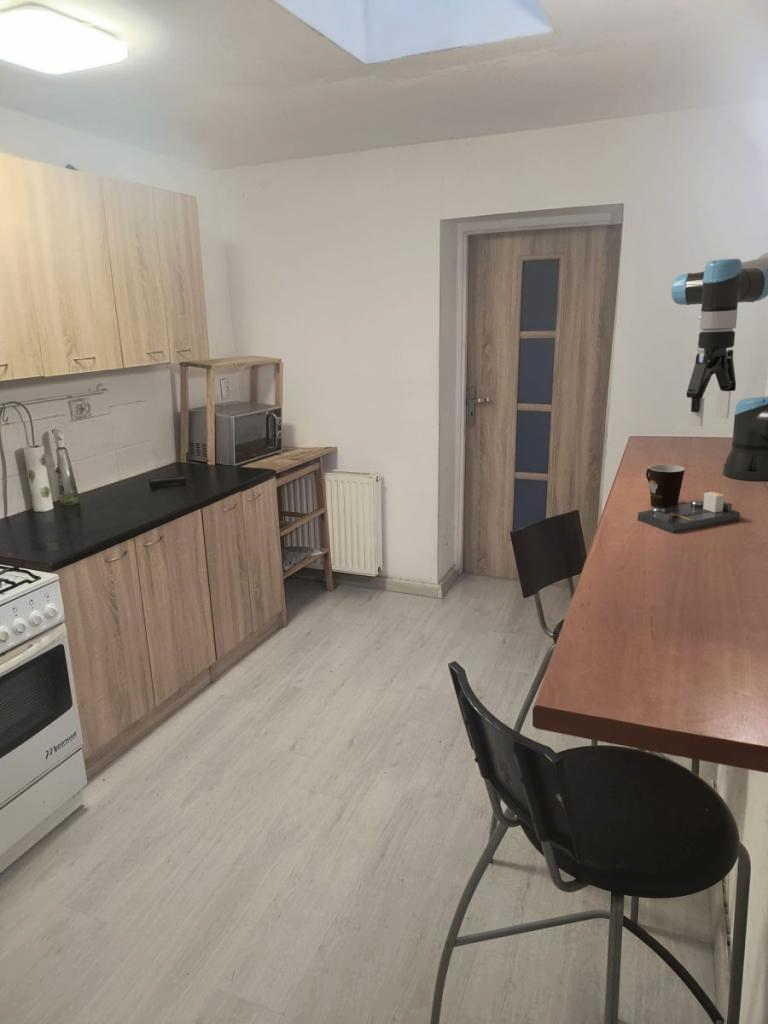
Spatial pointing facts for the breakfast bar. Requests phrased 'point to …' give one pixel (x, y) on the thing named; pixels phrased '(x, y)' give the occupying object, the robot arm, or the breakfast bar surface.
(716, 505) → the fader knob
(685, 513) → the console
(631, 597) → the breakfast bar surface
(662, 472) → the coffee mug
